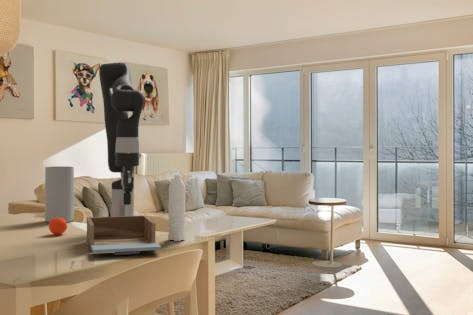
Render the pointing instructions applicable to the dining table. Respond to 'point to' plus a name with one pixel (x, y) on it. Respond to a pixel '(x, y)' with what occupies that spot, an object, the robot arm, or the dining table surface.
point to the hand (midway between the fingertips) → (127, 204)
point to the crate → (120, 230)
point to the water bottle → (177, 209)
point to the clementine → (57, 226)
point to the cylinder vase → (59, 193)
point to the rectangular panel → (125, 248)
